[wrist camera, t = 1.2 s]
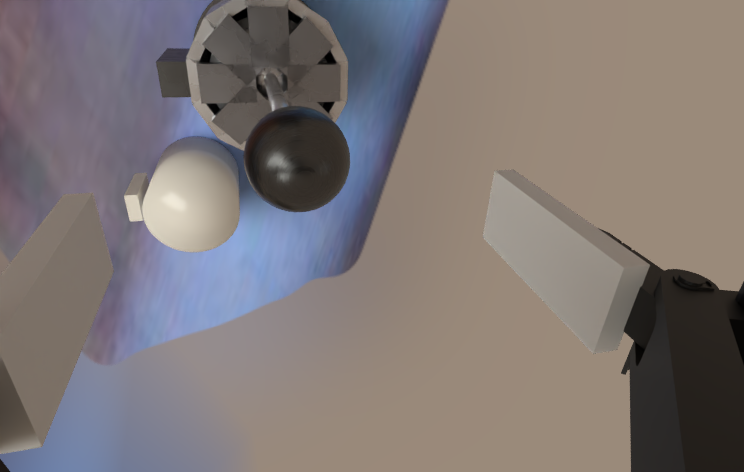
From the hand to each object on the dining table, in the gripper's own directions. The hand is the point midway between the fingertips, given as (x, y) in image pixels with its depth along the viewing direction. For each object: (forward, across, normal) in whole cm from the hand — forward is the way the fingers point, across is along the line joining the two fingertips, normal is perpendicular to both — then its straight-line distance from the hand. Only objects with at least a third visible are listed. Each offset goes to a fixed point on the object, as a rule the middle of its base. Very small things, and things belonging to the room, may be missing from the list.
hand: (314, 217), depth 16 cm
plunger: (+23, 0, 0) cm, 23 cm away
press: (+32, 0, 0) cm, 32 cm away
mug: (+32, -7, -10) cm, 35 cm away
